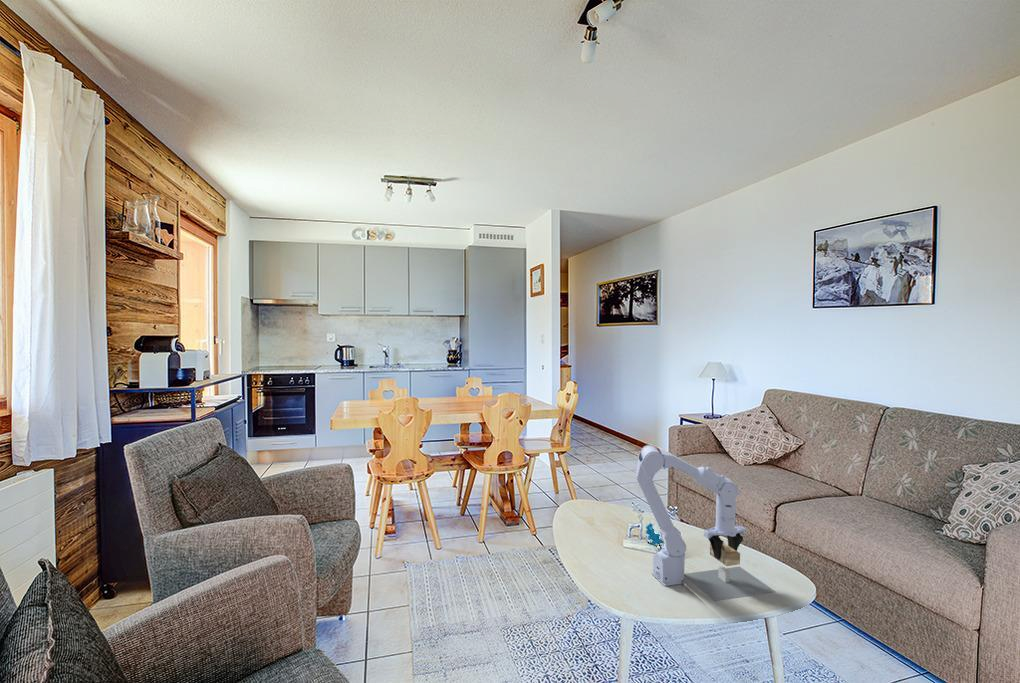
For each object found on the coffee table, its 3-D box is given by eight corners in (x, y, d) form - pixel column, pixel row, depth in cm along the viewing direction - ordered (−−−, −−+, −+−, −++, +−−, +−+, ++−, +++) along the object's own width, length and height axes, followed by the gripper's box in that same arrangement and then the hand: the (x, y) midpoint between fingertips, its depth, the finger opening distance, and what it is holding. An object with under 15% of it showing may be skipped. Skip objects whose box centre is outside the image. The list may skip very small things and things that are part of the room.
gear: (657, 549, 173) (643, 523, 179) (646, 556, 176) (633, 531, 182) (675, 545, 179) (661, 520, 185) (664, 552, 183) (651, 528, 189)
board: (714, 604, 142) (715, 589, 142) (683, 576, 157) (683, 563, 157) (776, 595, 147) (776, 580, 147) (739, 569, 162) (739, 556, 162)
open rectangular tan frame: (709, 554, 157) (710, 543, 157) (722, 552, 158) (722, 541, 158) (726, 566, 149) (726, 554, 149) (739, 564, 150) (740, 552, 150)
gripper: (714, 522, 148) (713, 565, 148) (753, 518, 151) (752, 560, 152) (700, 514, 154) (699, 555, 155) (737, 510, 158) (736, 550, 159)
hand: (724, 557), depth 154 cm, fingers closed on open rectangular tan frame, 5 cm apart
